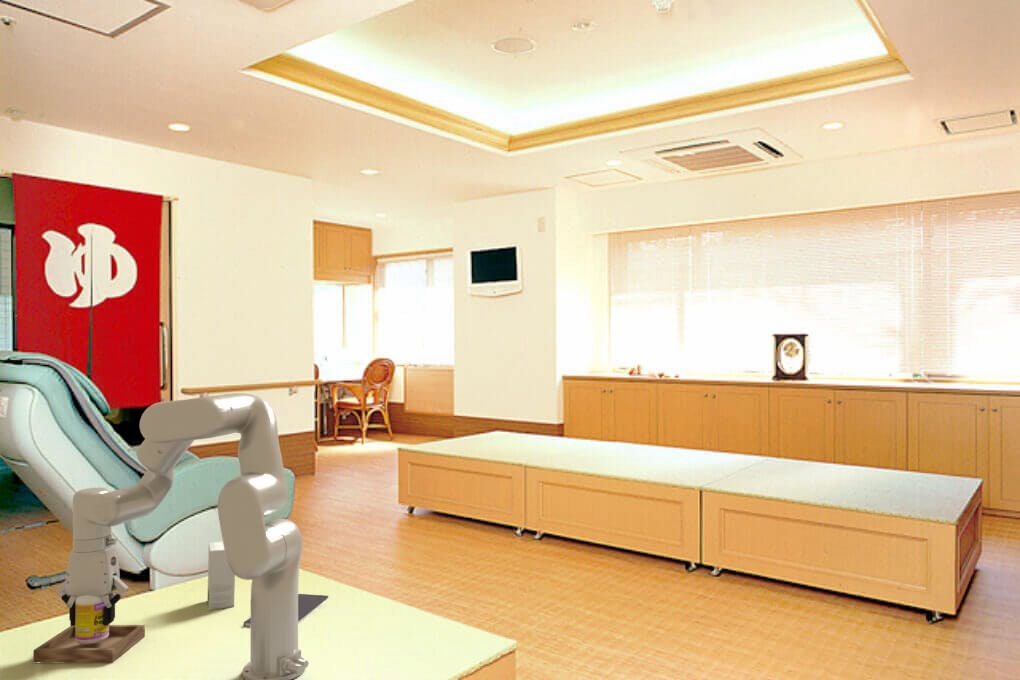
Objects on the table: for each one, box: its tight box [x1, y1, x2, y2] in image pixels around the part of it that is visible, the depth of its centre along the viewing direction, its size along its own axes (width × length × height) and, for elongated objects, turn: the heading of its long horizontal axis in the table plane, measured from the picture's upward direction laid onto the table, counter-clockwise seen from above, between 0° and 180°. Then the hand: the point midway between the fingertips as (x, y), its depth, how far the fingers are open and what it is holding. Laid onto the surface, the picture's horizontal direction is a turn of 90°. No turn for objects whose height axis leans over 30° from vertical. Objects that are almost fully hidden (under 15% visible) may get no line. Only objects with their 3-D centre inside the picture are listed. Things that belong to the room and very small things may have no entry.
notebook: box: [243, 593, 329, 627], centre depth 187 cm, size 13×2×21 cm
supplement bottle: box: [75, 590, 110, 644], centre depth 164 cm, size 7×7×13 cm
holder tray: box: [32, 624, 146, 664], centre depth 164 cm, size 17×14×3 cm
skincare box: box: [207, 540, 236, 611], centre depth 193 cm, size 8×7×16 cm
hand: (92, 622), depth 164 cm, fingers closed on supplement bottle, 6 cm apart
